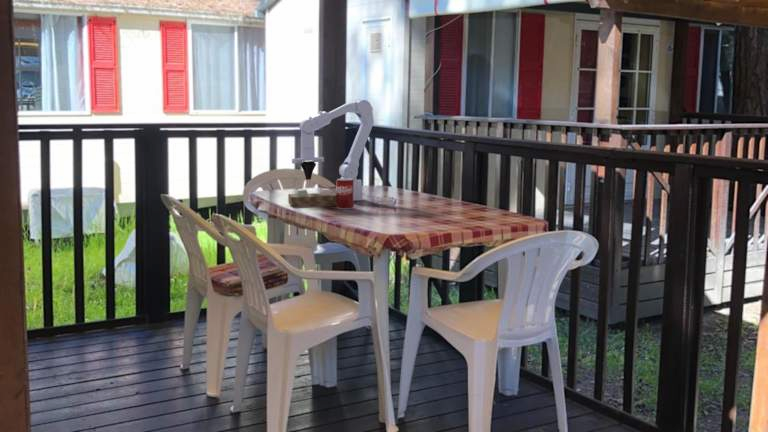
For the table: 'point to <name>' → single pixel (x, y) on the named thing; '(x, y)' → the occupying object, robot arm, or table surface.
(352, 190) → the soda can
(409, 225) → the table surface
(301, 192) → the sage button
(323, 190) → the cream button
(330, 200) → the button panel
